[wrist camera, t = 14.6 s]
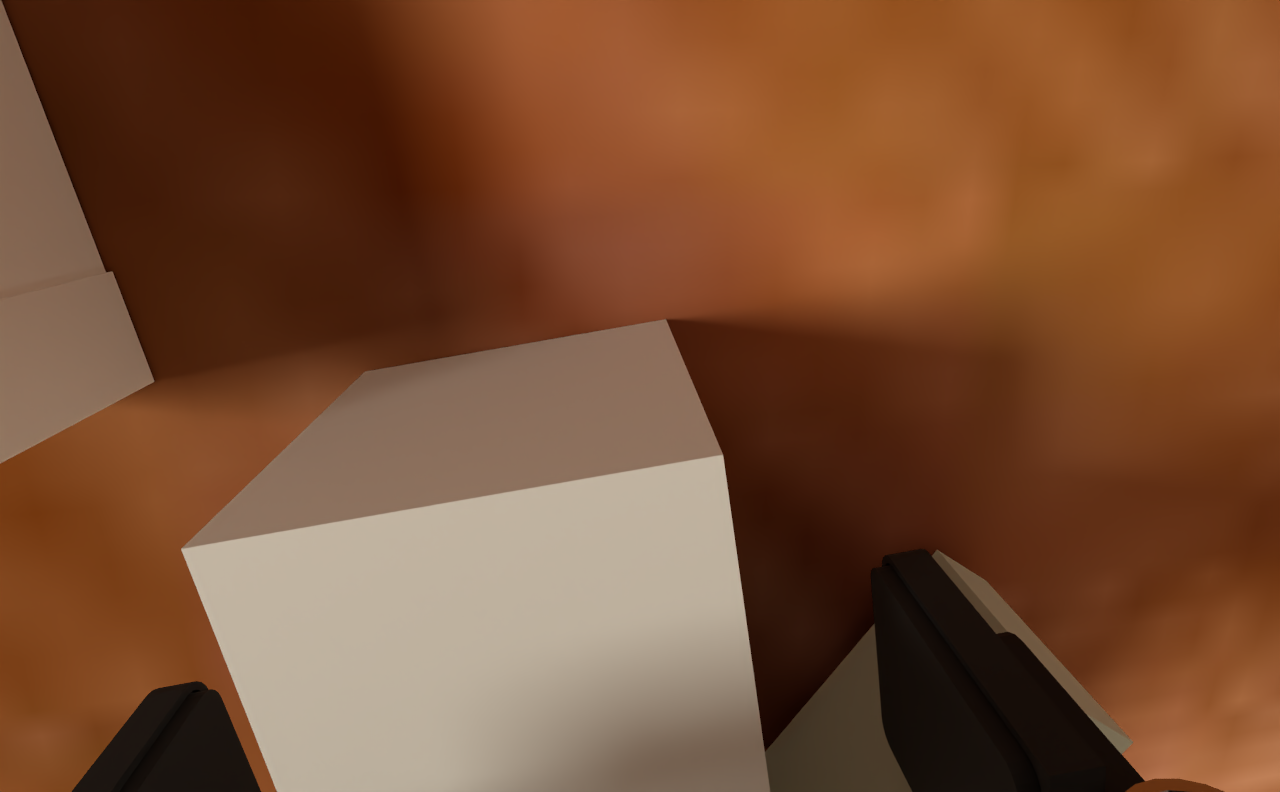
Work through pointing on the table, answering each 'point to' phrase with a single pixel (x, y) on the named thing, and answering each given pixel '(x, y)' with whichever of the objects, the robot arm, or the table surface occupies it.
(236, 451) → the table surface
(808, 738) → the door
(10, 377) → the notched cream block
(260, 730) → the block
